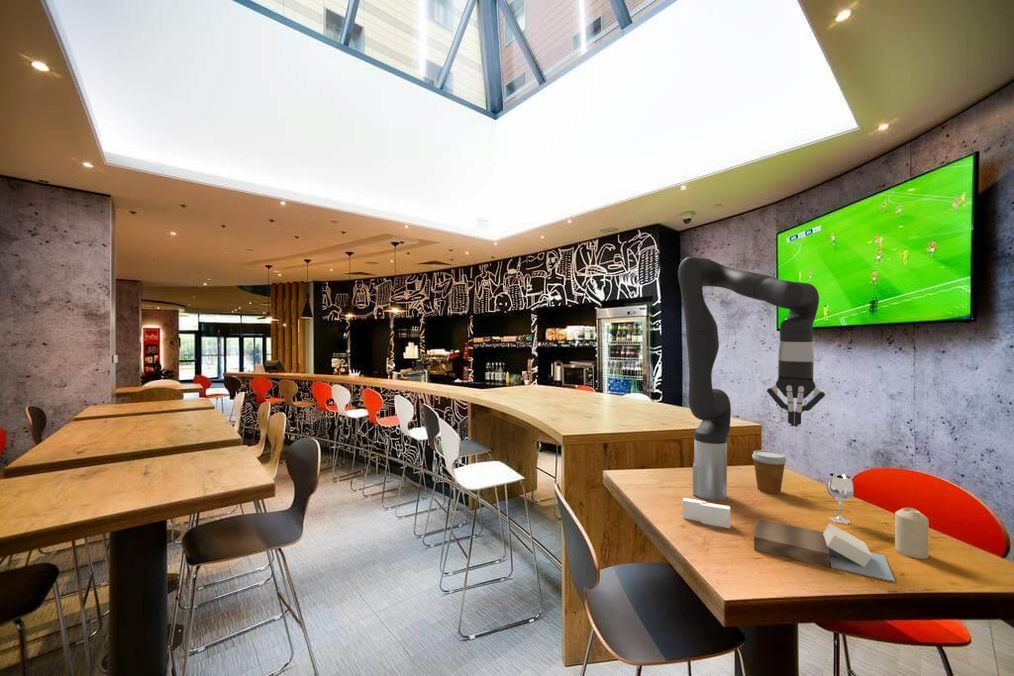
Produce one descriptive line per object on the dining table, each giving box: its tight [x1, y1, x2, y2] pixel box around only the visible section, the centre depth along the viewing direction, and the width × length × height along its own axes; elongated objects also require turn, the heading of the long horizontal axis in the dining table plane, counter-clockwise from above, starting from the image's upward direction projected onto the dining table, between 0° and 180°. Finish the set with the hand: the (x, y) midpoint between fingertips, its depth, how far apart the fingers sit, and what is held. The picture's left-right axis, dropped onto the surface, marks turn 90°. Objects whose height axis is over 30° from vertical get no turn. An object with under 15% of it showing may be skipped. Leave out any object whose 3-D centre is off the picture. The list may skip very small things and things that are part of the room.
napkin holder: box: [682, 497, 731, 529], centre depth 114 cm, size 15×11×6 cm
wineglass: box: [826, 472, 855, 525], centre depth 114 cm, size 6×6×12 cm
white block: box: [823, 523, 872, 567], centre depth 94 cm, size 7×7×3 cm
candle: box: [894, 507, 930, 560], centre depth 97 cm, size 6×6×10 cm
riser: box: [753, 518, 831, 569], centre depth 99 cm, size 14×12×3 cm
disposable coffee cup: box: [751, 449, 787, 495], centre depth 136 cm, size 10×10×12 cm
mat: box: [828, 547, 896, 583], centre depth 93 cm, size 10×12×1 cm
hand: (794, 425), depth 110 cm, fingers closed
